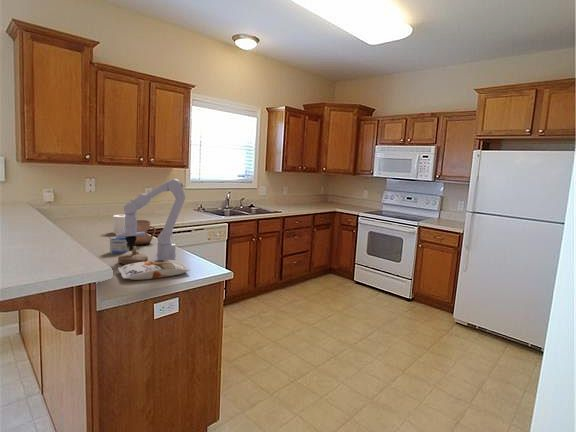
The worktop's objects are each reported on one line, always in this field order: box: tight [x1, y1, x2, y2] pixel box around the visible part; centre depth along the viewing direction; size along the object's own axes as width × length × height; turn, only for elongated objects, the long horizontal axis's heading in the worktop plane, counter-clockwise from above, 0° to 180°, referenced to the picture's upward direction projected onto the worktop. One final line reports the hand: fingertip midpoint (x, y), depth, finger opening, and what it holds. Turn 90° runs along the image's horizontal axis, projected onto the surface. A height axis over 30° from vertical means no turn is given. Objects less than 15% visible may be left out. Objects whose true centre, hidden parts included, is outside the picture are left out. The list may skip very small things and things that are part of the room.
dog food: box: [117, 259, 191, 280], centre depth 168 cm, size 30×18×5 cm, turn 125°
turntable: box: [117, 246, 149, 265], centre depth 182 cm, size 14×14×6 cm
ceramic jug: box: [134, 219, 157, 246], centre depth 220 cm, size 18×14×14 cm
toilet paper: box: [112, 214, 125, 235], centre depth 245 cm, size 10×10×12 cm
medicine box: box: [109, 236, 127, 255], centre depth 198 cm, size 8×4×9 cm, turn 126°
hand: (130, 250), depth 186 cm, fingers closed
